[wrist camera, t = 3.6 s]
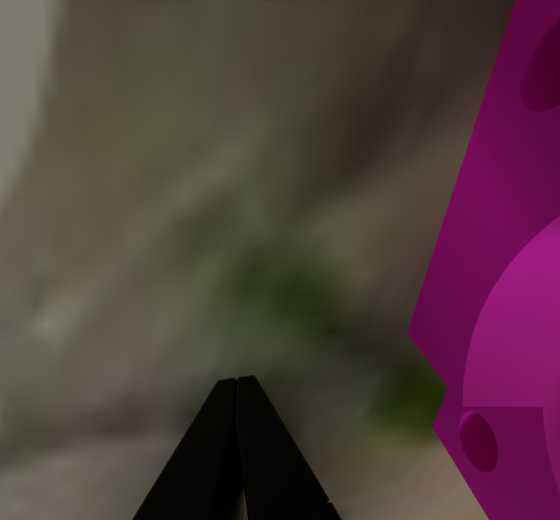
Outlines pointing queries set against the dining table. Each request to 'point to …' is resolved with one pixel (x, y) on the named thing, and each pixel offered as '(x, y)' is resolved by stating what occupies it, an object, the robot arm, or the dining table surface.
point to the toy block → (504, 283)
